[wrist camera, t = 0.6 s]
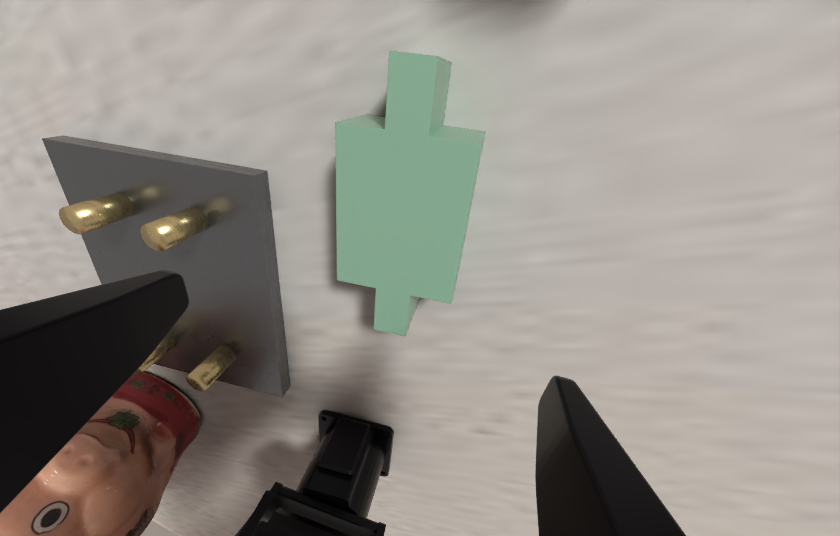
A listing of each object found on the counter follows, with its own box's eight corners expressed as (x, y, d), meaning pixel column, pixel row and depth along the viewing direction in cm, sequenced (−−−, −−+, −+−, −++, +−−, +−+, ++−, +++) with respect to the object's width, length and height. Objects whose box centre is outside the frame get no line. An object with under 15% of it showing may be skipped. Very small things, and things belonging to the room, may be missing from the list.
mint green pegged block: (497, 67, 15) (497, 63, 12) (452, 303, 22) (443, 345, 18) (369, 52, 16) (334, 43, 13) (362, 284, 23) (337, 321, 19)
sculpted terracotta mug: (200, 480, 41) (74, 647, 29) (104, 431, 40) (-67, 583, 28) (234, 386, 31) (62, 583, 19) (107, 319, 30) (-159, 479, 18)
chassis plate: (267, 170, 20) (215, 190, 16) (290, 385, 29) (260, 429, 25) (63, 135, 22) (-24, 146, 18) (144, 348, 31) (96, 384, 27)
